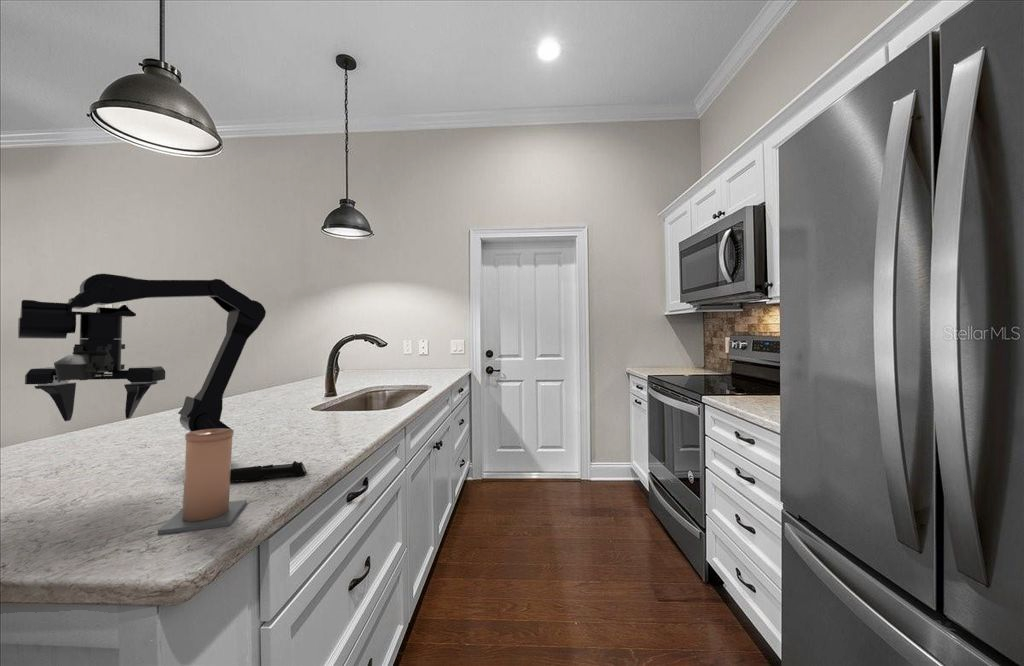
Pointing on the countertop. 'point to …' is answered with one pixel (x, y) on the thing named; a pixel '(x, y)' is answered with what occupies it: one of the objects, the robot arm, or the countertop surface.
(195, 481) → the tumbler
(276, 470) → the electric trimmer
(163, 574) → the countertop surface
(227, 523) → the coaster
